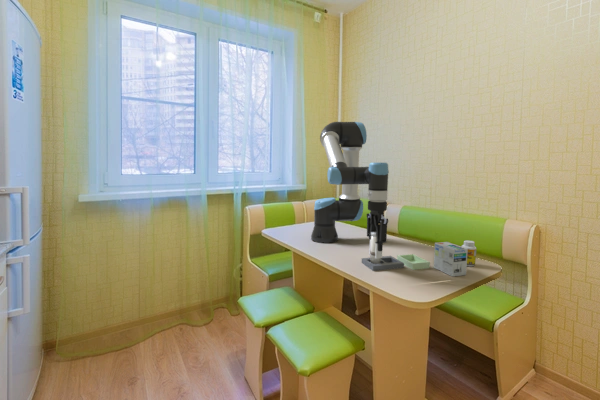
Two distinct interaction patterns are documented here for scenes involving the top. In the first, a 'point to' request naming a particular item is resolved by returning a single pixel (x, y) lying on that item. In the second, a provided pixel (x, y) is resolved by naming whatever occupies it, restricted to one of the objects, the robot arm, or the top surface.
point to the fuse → (372, 251)
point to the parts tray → (413, 261)
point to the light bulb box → (450, 258)
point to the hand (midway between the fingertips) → (375, 256)
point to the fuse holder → (383, 263)
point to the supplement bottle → (470, 252)
